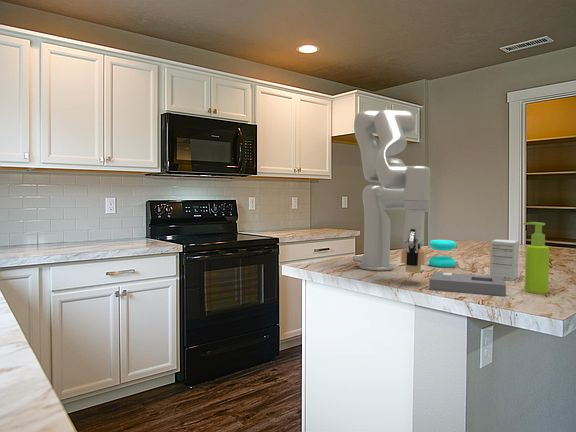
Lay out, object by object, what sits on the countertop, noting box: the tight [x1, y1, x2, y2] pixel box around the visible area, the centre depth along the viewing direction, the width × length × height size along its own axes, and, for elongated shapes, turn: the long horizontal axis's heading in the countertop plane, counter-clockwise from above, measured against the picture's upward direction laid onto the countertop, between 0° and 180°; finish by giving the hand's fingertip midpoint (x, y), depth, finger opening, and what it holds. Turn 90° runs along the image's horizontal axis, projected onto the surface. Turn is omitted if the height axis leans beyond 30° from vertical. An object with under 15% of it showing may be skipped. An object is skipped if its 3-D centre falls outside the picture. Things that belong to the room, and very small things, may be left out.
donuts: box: [428, 239, 457, 268], centre depth 174 cm, size 10×10×10 cm
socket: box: [428, 271, 507, 297], centre depth 131 cm, size 20×14×4 cm
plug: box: [400, 246, 427, 274], centre depth 138 cm, size 7×7×7 cm
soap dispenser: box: [522, 221, 551, 295], centre depth 128 cm, size 6×7×20 cm
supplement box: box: [489, 238, 520, 282], centre depth 149 cm, size 7×7×13 cm
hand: (413, 263), depth 138 cm, fingers closed on plug, 6 cm apart
